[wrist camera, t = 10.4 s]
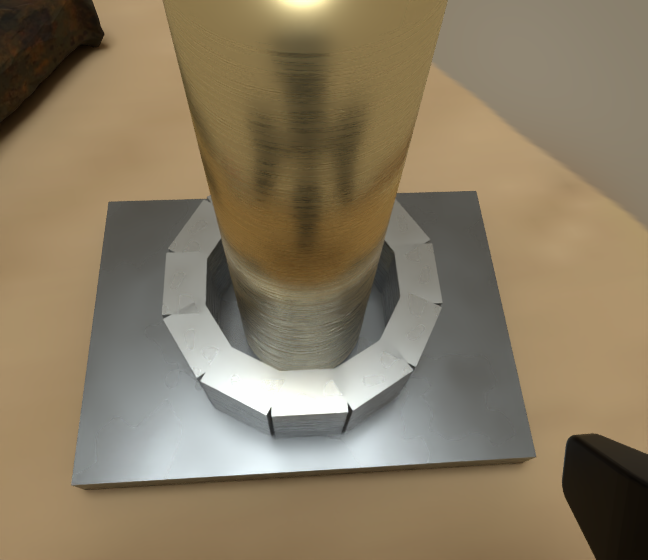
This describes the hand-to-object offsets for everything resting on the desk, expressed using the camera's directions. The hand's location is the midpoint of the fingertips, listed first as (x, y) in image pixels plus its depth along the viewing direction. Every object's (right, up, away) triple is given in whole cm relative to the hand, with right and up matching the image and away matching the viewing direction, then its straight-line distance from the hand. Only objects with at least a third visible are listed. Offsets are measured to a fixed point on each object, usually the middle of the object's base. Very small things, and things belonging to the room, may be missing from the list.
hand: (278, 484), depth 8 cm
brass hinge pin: (0, +2, +11) cm, 11 cm away
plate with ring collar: (0, +1, +12) cm, 12 cm away
